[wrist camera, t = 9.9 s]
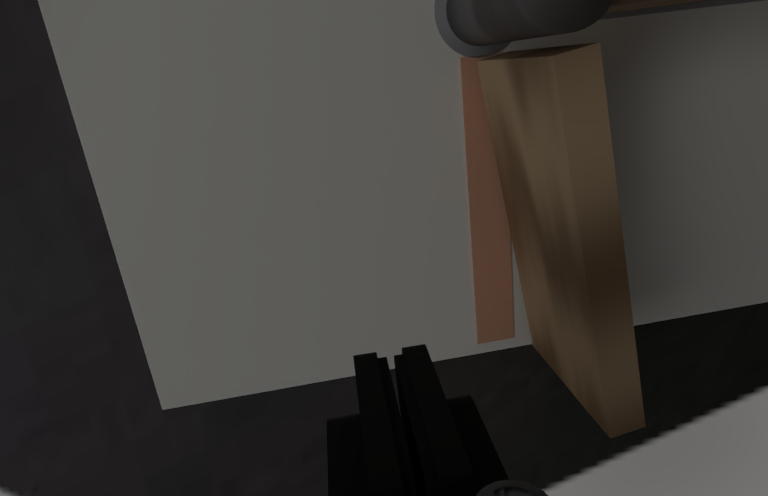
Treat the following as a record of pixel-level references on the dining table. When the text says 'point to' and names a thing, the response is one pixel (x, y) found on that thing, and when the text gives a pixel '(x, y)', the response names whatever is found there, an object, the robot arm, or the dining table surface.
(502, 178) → the gate panel
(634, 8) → the fence
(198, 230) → the card
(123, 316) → the dining table surface
